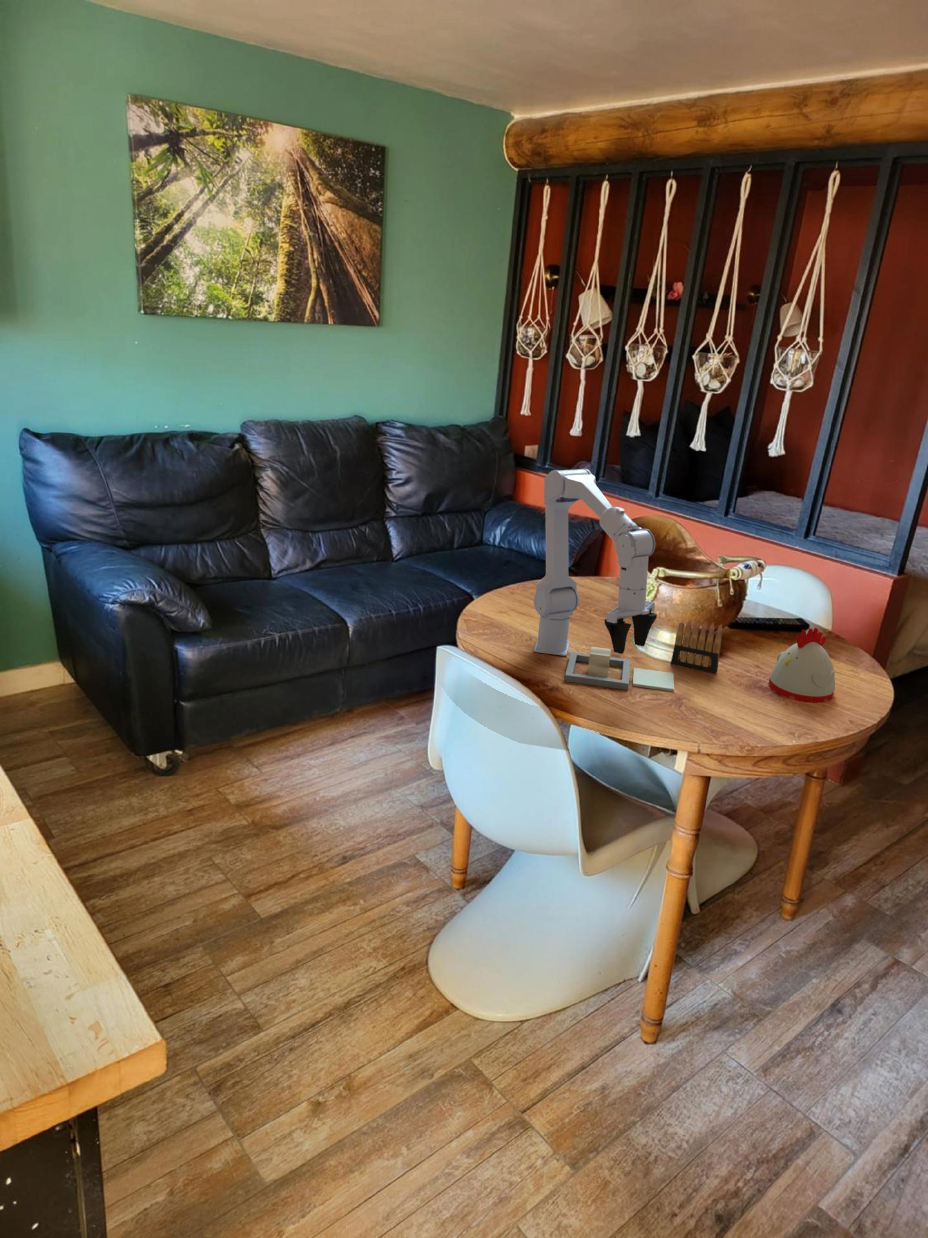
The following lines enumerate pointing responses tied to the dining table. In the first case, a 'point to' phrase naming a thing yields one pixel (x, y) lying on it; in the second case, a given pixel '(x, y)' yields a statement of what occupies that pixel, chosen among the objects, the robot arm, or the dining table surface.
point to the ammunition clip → (697, 648)
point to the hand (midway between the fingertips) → (629, 648)
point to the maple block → (599, 662)
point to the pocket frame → (593, 679)
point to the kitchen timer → (804, 670)
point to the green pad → (653, 679)
